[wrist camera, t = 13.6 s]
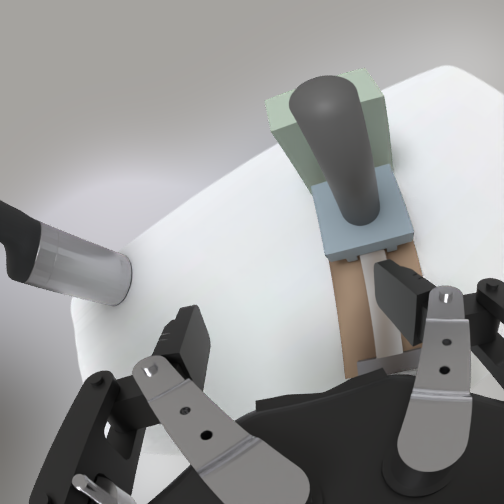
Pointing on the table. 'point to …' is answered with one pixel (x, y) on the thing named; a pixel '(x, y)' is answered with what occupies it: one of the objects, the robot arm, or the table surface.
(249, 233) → the table surface
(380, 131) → the gauge cabinet
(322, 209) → the cylinder
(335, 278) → the rail
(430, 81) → the table surface
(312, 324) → the table surface
